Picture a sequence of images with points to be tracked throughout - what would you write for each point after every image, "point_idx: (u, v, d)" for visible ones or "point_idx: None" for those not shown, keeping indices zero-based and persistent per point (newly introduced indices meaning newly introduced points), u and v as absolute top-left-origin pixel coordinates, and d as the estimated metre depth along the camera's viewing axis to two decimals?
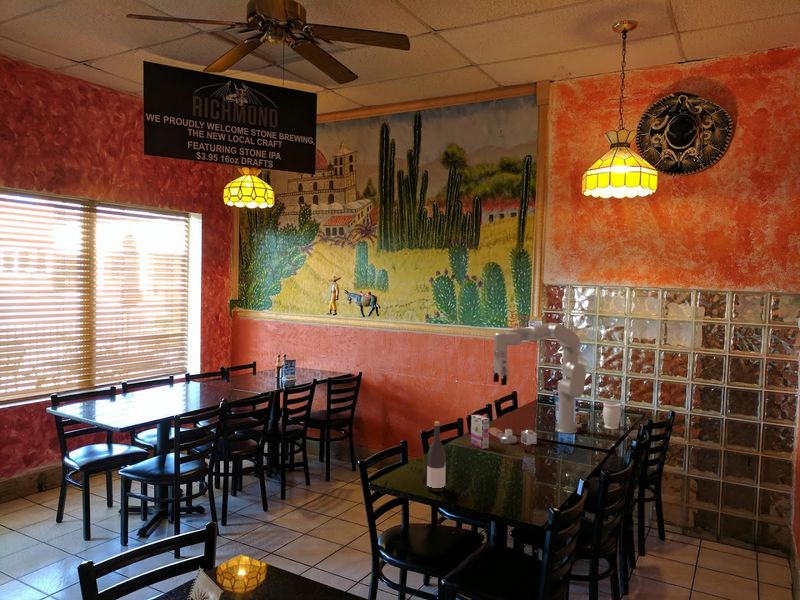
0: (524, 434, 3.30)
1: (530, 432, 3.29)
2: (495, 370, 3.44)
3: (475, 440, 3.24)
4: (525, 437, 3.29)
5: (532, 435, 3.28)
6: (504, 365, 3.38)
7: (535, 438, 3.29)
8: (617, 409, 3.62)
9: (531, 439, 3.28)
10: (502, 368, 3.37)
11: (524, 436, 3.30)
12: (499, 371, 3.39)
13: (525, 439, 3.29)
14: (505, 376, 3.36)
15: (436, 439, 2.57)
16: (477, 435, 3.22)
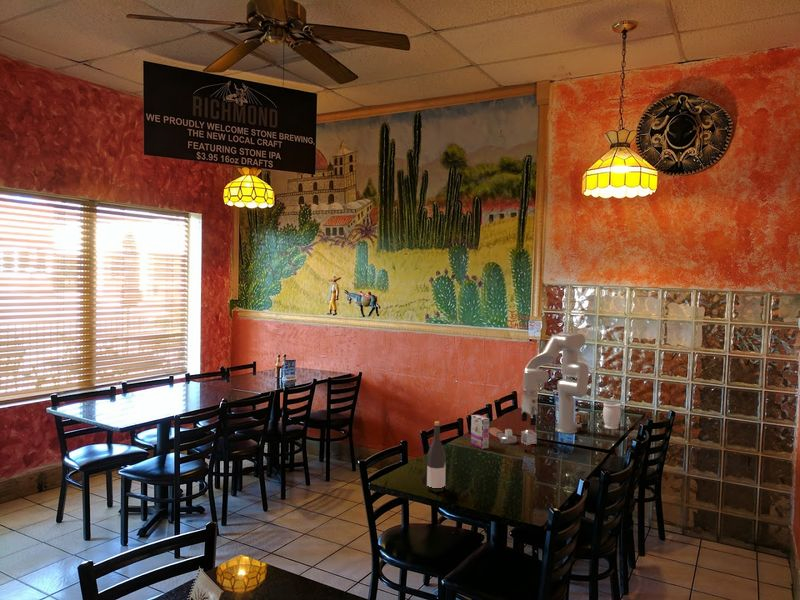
0: (524, 434, 3.30)
1: (530, 432, 3.29)
2: (524, 409, 3.31)
3: (475, 440, 3.24)
4: (525, 437, 3.29)
5: (532, 435, 3.28)
6: (534, 404, 3.25)
7: (535, 438, 3.29)
8: (617, 409, 3.62)
9: (531, 439, 3.28)
10: (531, 408, 3.25)
11: (524, 436, 3.30)
12: (528, 411, 3.26)
13: (525, 439, 3.29)
14: (535, 416, 3.24)
15: (436, 439, 2.57)
16: (477, 435, 3.22)
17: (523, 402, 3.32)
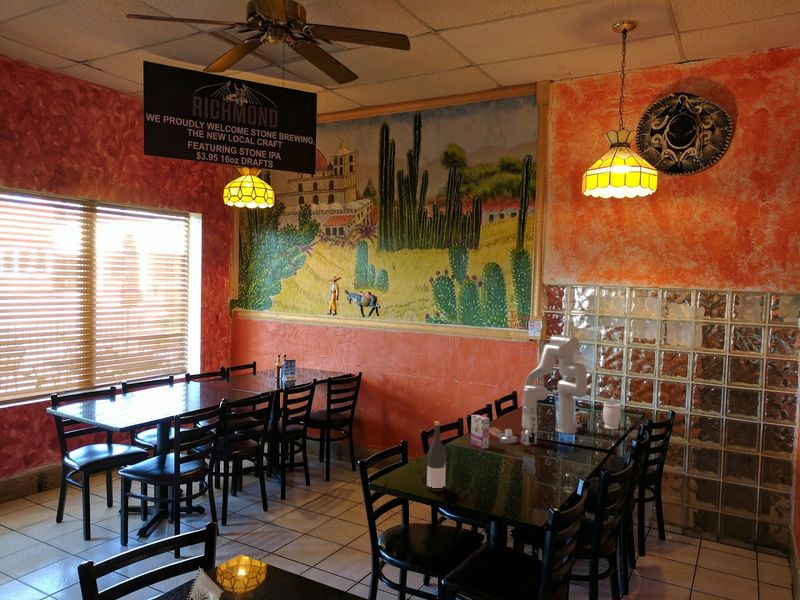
0: (524, 434, 3.30)
1: None
2: (524, 426, 3.32)
3: (475, 440, 3.24)
4: (525, 437, 3.29)
5: None
6: (533, 422, 3.26)
7: (535, 438, 3.29)
8: (617, 409, 3.62)
9: None
10: (531, 427, 3.26)
11: (524, 436, 3.30)
12: (528, 428, 3.27)
13: (525, 439, 3.29)
14: (533, 435, 3.26)
15: (436, 439, 2.57)
16: (477, 435, 3.22)
17: (523, 419, 3.32)
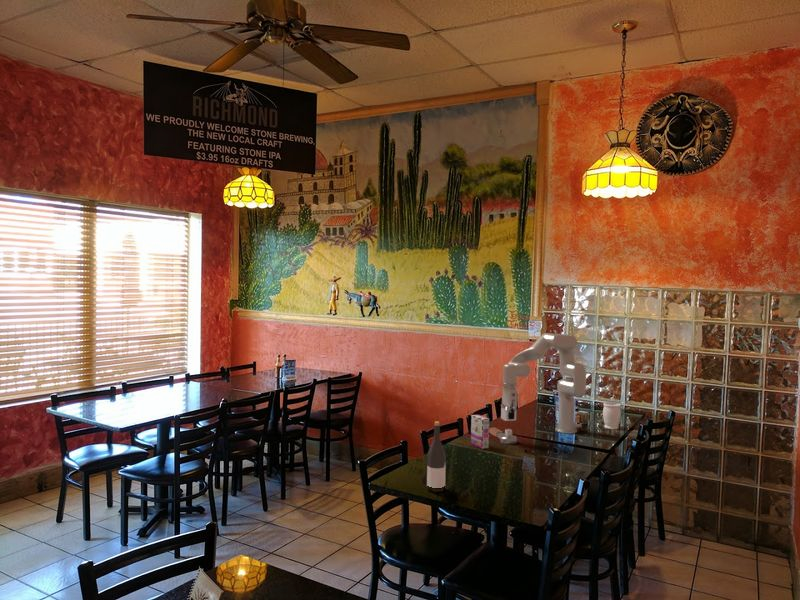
0: (504, 410, 3.31)
1: None
2: (504, 402, 3.33)
3: (475, 440, 3.24)
4: (505, 413, 3.30)
5: None
6: (513, 398, 3.27)
7: (515, 414, 3.30)
8: (617, 409, 3.62)
9: None
10: (511, 403, 3.27)
11: (503, 412, 3.31)
12: (508, 404, 3.28)
13: (505, 415, 3.30)
14: (513, 410, 3.27)
15: (436, 439, 2.57)
16: (477, 435, 3.22)
17: (503, 395, 3.33)
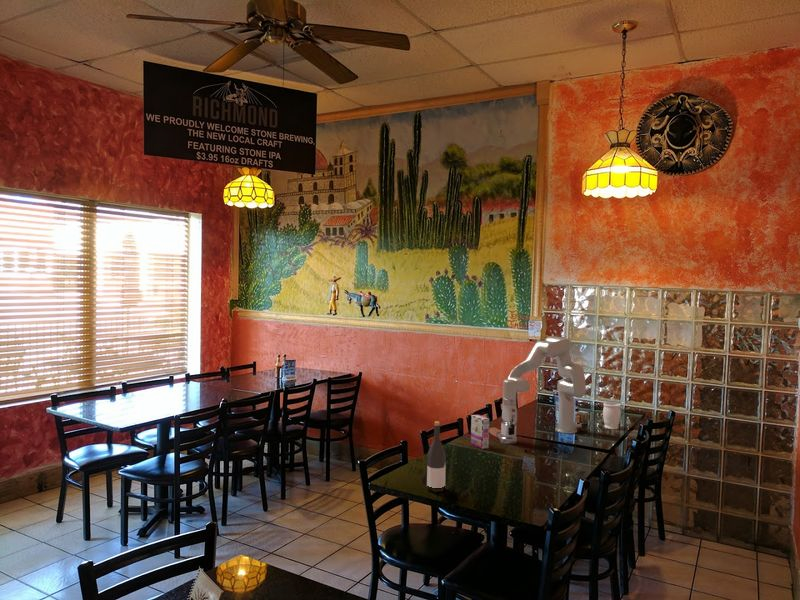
0: (504, 425, 3.31)
1: None
2: (504, 418, 3.34)
3: (475, 440, 3.24)
4: (505, 428, 3.30)
5: None
6: (513, 413, 3.28)
7: (515, 429, 3.31)
8: (617, 409, 3.62)
9: None
10: (511, 418, 3.27)
11: (503, 427, 3.32)
12: (508, 419, 3.29)
13: (505, 430, 3.30)
14: (513, 426, 3.27)
15: (436, 439, 2.57)
16: (477, 435, 3.22)
17: (503, 411, 3.34)
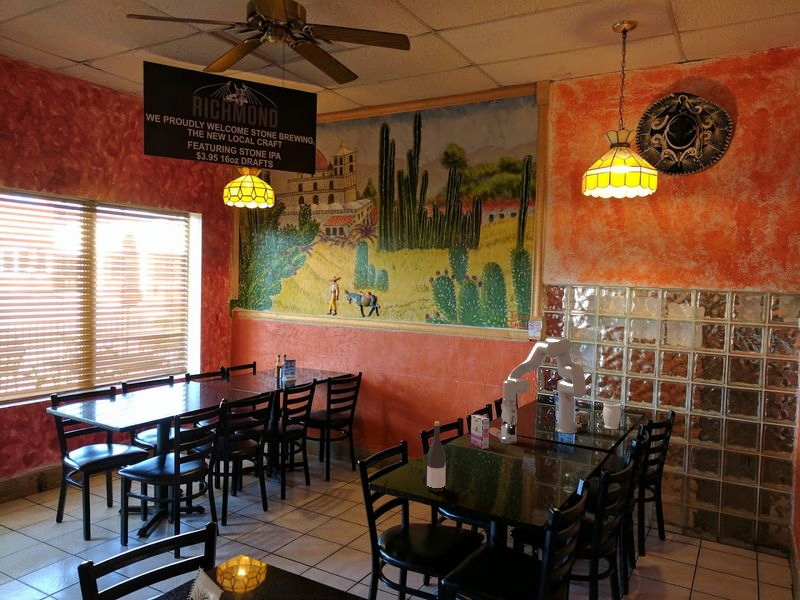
0: (504, 428, 3.31)
1: None
2: (504, 418, 3.34)
3: (475, 440, 3.24)
4: (505, 431, 3.30)
5: None
6: (513, 414, 3.28)
7: (515, 431, 3.31)
8: (617, 409, 3.62)
9: None
10: (511, 418, 3.27)
11: (504, 429, 3.32)
12: (508, 420, 3.29)
13: (505, 432, 3.30)
14: (514, 426, 3.26)
15: (436, 439, 2.57)
16: (477, 435, 3.22)
17: (503, 411, 3.34)
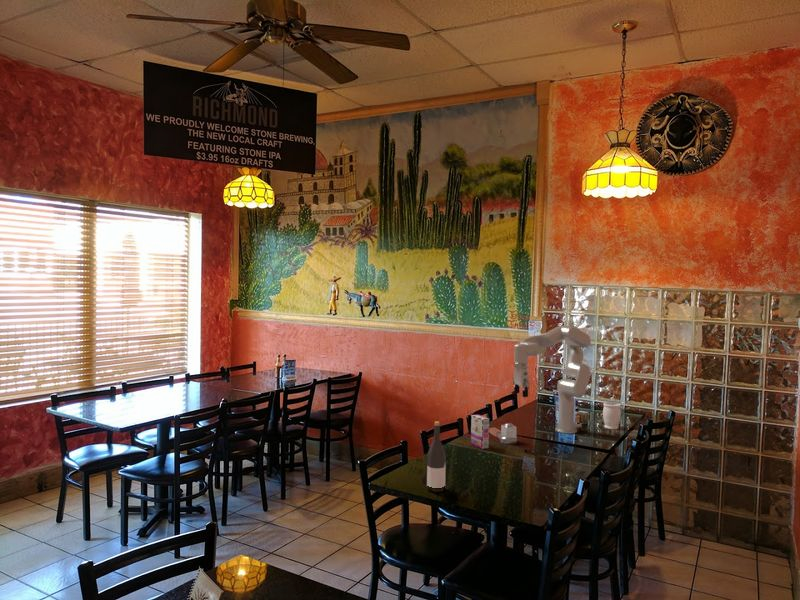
0: (504, 428, 3.31)
1: (510, 426, 3.31)
2: (516, 382, 3.39)
3: (475, 440, 3.24)
4: (505, 431, 3.30)
5: (512, 429, 3.30)
6: (525, 377, 3.33)
7: (515, 431, 3.31)
8: (617, 409, 3.62)
9: (511, 432, 3.30)
10: (523, 380, 3.32)
11: (504, 429, 3.32)
12: (520, 383, 3.34)
13: (505, 432, 3.30)
14: (526, 388, 3.31)
15: (436, 439, 2.57)
16: (477, 435, 3.22)
17: (515, 375, 3.39)
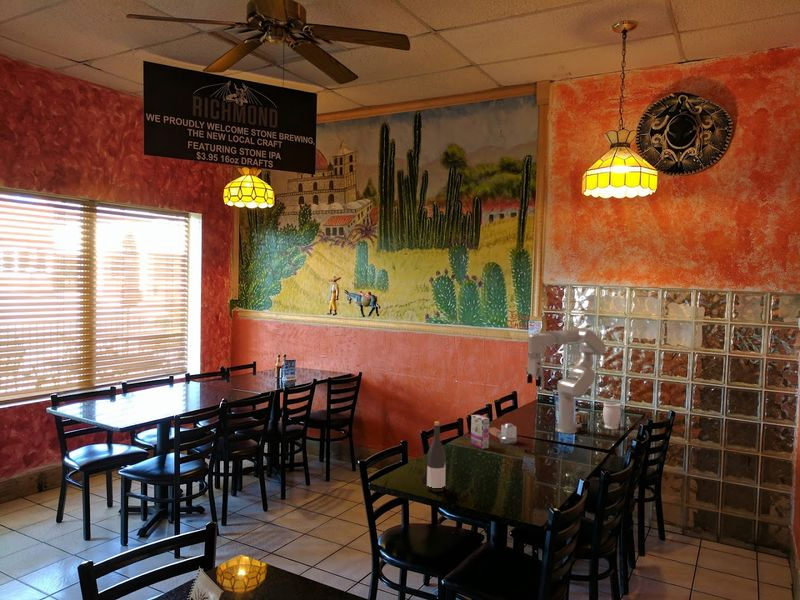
0: (504, 428, 3.31)
1: (510, 426, 3.31)
2: (529, 371, 3.46)
3: (475, 440, 3.24)
4: (505, 431, 3.30)
5: (512, 429, 3.30)
6: (538, 366, 3.40)
7: (515, 431, 3.31)
8: (617, 409, 3.62)
9: (511, 432, 3.30)
10: (537, 369, 3.40)
11: (504, 429, 3.32)
12: (533, 372, 3.41)
13: (505, 432, 3.30)
14: (540, 377, 3.38)
15: (436, 439, 2.57)
16: (477, 435, 3.22)
17: (528, 365, 3.46)
